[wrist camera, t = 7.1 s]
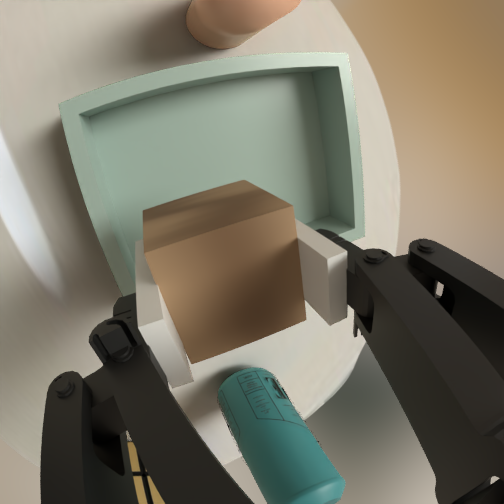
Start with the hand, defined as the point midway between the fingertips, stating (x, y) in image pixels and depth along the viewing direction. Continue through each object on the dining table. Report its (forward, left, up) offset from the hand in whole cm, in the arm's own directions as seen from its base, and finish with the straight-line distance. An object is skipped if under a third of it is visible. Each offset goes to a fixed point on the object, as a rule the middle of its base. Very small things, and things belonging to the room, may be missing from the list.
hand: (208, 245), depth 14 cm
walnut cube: (0, 0, 0) cm, 0 cm away
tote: (+3, +2, -7) cm, 8 cm away
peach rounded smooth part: (+5, +13, -7) cm, 16 cm away
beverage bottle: (0, -19, -8) cm, 20 cm away
